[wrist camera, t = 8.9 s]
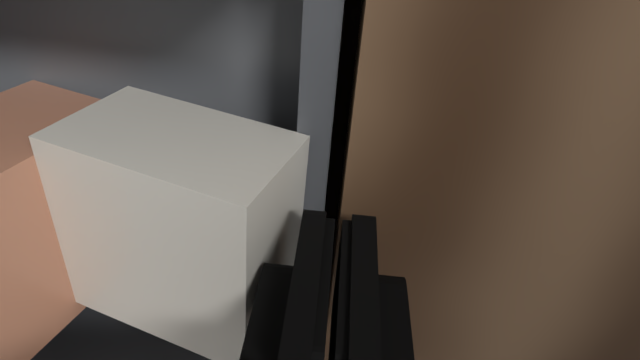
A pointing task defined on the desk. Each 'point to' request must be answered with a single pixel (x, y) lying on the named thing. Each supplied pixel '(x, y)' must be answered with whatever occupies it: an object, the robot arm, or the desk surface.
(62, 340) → the box
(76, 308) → the tile terracotta
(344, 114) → the desk surface
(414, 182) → the plate
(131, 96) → the tile cream
